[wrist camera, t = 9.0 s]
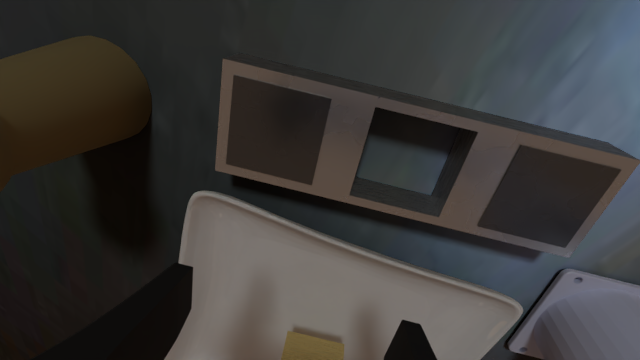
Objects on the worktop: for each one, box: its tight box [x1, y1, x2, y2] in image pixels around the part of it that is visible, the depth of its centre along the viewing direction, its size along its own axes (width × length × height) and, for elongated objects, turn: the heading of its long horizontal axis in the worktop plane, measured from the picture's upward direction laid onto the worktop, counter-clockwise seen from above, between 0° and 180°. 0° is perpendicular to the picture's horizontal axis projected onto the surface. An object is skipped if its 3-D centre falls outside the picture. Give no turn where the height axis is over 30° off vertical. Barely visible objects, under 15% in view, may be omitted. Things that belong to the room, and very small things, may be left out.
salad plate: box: [164, 191, 523, 360], centre depth 26 cm, size 21×21×3 cm
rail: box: [215, 53, 640, 258], centre depth 18 cm, size 20×6×2 cm, turn 78°
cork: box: [0, 35, 152, 192], centre depth 15 cm, size 6×6×11 cm
